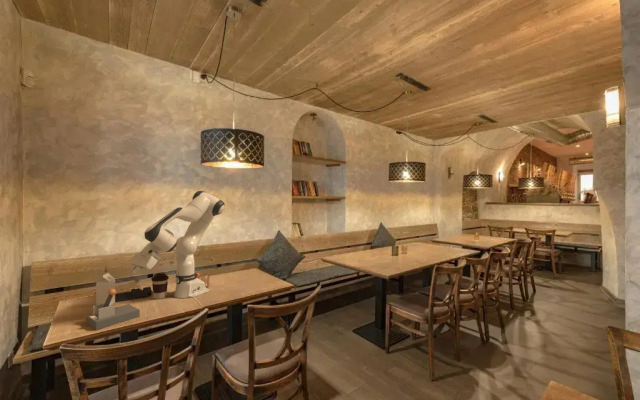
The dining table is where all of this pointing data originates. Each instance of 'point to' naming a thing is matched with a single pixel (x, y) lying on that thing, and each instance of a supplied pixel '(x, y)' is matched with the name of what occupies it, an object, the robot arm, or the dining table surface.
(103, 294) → the milk carton
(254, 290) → the dining table surface
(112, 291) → the toggle lever
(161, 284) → the coffee cup
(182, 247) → the robot arm
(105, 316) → the switch box
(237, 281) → the dining table surface
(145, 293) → the dark slate chunk
